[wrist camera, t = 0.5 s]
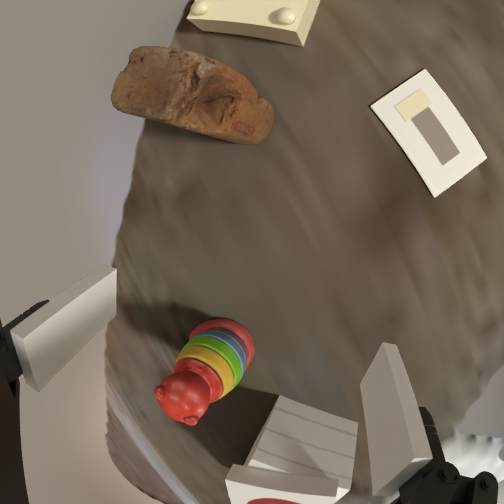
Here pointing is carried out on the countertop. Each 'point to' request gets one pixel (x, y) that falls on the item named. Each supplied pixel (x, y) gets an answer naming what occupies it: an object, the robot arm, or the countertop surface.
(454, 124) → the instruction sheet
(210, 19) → the cream knobbed square piece
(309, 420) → the white storage box
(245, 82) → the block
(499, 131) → the countertop surface
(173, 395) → the stacking bear
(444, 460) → the robot arm
